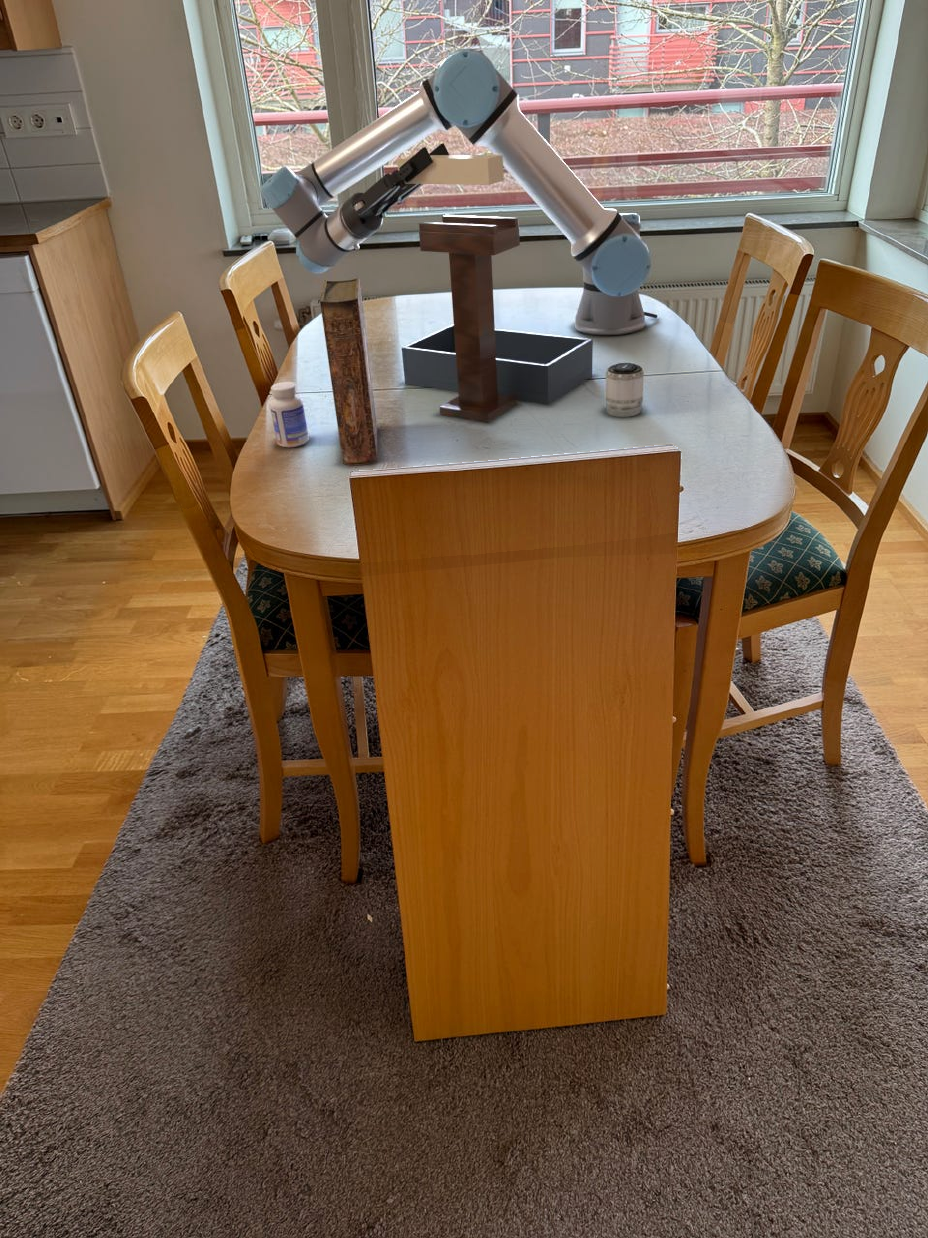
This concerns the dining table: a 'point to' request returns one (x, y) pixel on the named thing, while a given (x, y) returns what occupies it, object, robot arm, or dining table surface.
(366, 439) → the book
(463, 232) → the stand
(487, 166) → the carton
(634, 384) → the camera lens
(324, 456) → the dining table surface
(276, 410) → the pill bottle
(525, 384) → the bin
